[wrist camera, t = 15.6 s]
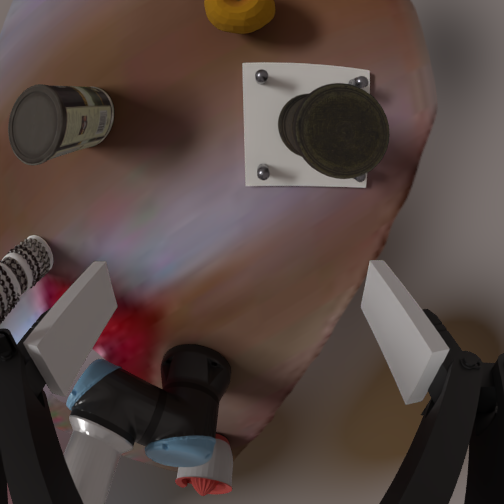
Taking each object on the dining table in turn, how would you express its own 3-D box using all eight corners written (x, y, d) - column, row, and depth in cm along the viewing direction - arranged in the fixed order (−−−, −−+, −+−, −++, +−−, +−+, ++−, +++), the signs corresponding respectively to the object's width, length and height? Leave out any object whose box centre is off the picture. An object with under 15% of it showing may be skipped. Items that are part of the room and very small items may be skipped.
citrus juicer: (173, 439, 77) (162, 492, 59) (199, 421, 71) (189, 483, 53) (215, 454, 81) (210, 505, 63) (245, 438, 75) (243, 497, 57)
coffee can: (59, 100, 37) (3, 104, 24) (109, 78, 36) (56, 70, 23) (70, 155, 41) (16, 175, 28) (120, 138, 40) (69, 151, 27)
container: (293, 165, 41) (316, 200, 25) (266, 108, 37) (272, 101, 21) (349, 142, 39) (406, 163, 23) (325, 85, 36) (371, 67, 19)
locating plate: (363, 185, 43) (375, 194, 38) (245, 184, 43) (244, 193, 39) (366, 71, 35) (379, 66, 30) (242, 64, 36) (240, 57, 31)
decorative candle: (53, 280, 52) (-15, 358, 29) (23, 261, 50) (-48, 329, 28) (57, 245, 48) (-24, 322, 26) (25, 226, 47) (-58, 290, 24)
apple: (286, 18, 32) (293, -4, 24) (240, 54, 35) (236, 38, 27) (242, -17, 29) (239, -44, 21) (197, 18, 32) (183, -3, 24)
